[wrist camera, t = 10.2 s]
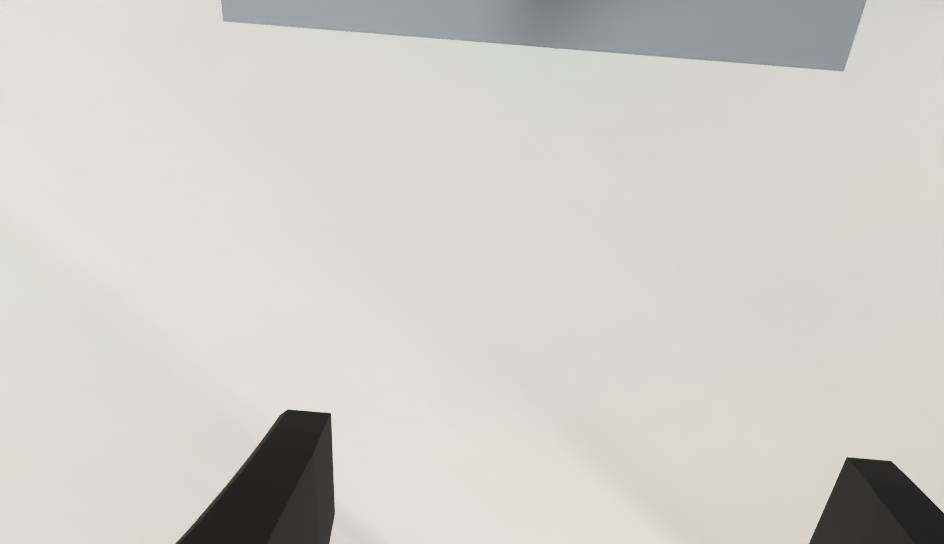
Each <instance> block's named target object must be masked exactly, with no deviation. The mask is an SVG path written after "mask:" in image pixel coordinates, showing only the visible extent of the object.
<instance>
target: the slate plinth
mask: <svg viewBox="0 0 944 544" xmlns="http://www.w3.org/2000/svg"><path fill="white" fill-rule="evenodd" d="M221 3H222V13H223V21H227V22H239V23H252V24H264V25H277V26H289V27H301V28H314V29H326V30H339V31H351V32H363V33H376V34H388V35H401V36H413V37H425V38H438V39H450V40H463V41H475V42H487V43H500V44H512V45H525V46H537V47H549V48H562V49H574V50H587V51H599V52H611V53H624V54H636V55H648V56H661V57H673V58H686V59H698V60H710V61H723V62H735V63H748V64H760V65H772V66H785V67H797V68H810V69H822V70H834V71H844V68H845V65H846V62H847V59H848V56H849V53H850V50H851V47H852V43H853V40H854V37H855V34H856V31H857V28H858V25H859V22H860V18H861V15H862V12H863V9H864V6H865V3H866V0H221Z"/></svg>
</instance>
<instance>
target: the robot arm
mask: <svg viewBox="0 0 944 544" xmlns="http://www.w3.org/2000/svg"><path fill="white" fill-rule="evenodd" d="M334 515H335V509H334V483H333V457H332V431H331V413H320V412H309V411H297V410H287V411H285V412H284V413H282V414H281V415H280V416H279V417H278V419H277V420H276V422H275V423H274V425H273V426H272V427H271V429H270V430H269V432H268V433H267V434H266V436H265V437H264V438H263V440H262V441H261V442H260V444H259V445H258V446H257V448H256V449H255V450H254V452H253V453H252V454H251V455H250V457H249V458H248V459H247V461H246V462H245V463H244V464H243V466H242V467H241V468H240V469H239V471H238V472H237V473H236V474H235V476H234V477H233V478H232V479H231V481H230V482H229V483H228V484H227V486H226V487H225V488H224V489H223V490H222V491H221V493H220V494H219V495H218V496H217V497H216V498H215V500H214V501H213V502H212V503H211V504H210V505H209V507H208V508H207V509H206V510H205V511H204V513H203V514H202V515H201V516H200V517H199V518H198V520H197V521H196V522H195V523H194V524H193V525H192V526H191V528H190V529H189V530H188V531H187V532H186V533H185V534H184V535H183V536H182V537H181V538H180V540H179V541H178V542H177V543H176V544H329V541H330V536H331V530H332V525H333V520H334ZM809 544H944V513H943V512H942V511H941V510H940V509H939V508H938V507H937V506H936V505H935V504H934V503H933V502H932V501H931V500H930V499H929V498H928V497H927V496H926V495H925V494H924V493H923V492H922V491H921V490H920V489H919V488H918V487H917V486H916V485H915V484H914V483H913V482H912V481H911V480H910V479H909V478H908V477H907V476H906V475H905V474H904V473H903V472H902V471H901V470H900V469H899V468H898V467H897V466H896V465H895V464H893V463H892V462H891V461H882V460H871V459H859V458H846V461H845V463H844V465H843V468H842V470H841V472H840V474H839V477H838V479H837V481H836V484H835V486H834V488H833V490H832V493H831V495H830V497H829V500H828V502H827V504H826V506H825V509H824V511H823V513H822V516H821V518H820V520H819V522H818V525H817V527H816V529H815V532H814V534H813V536H812V538H811V541H810V543H809Z"/></svg>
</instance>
